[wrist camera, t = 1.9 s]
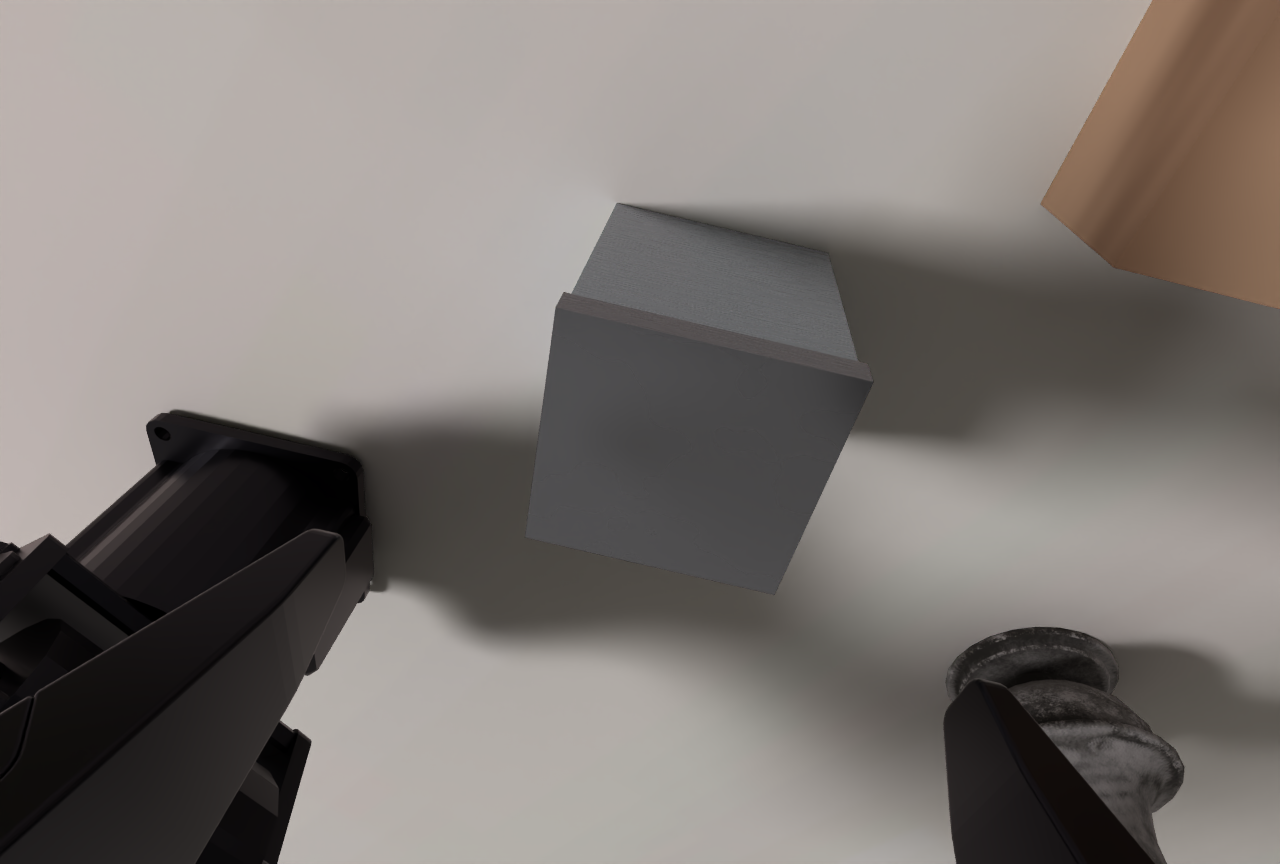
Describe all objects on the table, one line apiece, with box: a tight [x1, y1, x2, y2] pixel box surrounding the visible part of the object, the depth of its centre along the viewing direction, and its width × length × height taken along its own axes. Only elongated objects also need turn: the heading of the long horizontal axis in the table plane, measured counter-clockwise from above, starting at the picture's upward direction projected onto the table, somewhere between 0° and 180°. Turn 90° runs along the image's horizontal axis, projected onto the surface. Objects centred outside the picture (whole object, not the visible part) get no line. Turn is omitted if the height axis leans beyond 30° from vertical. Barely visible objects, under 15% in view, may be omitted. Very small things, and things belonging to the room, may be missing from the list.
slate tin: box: [525, 203, 873, 595], centre depth 15 cm, size 5×5×6 cm
